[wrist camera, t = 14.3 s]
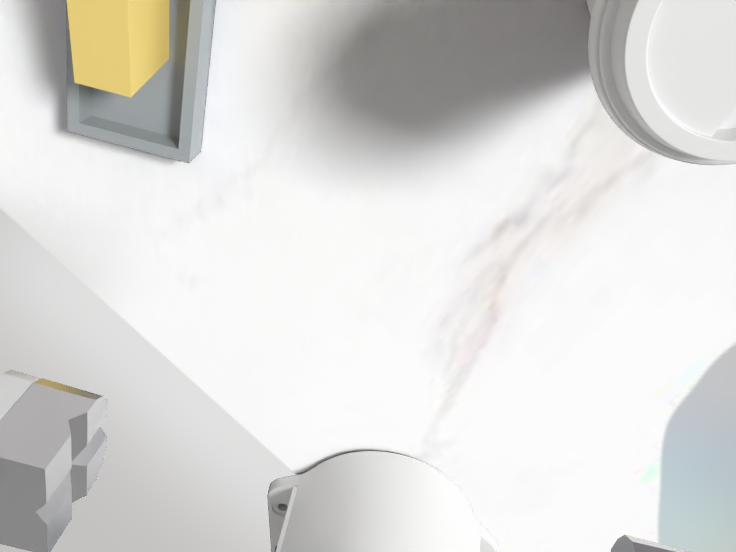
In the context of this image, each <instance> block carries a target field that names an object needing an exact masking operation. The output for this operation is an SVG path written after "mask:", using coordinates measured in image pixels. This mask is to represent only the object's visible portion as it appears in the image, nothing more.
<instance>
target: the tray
mask: <svg viewBox="0 0 736 552" xmlns="http://www.w3.org/2000/svg"><path fill="white" fill-rule="evenodd" d="M215 4H216V0H169V60H168V61H167V62H166V63H165V64H164V65H163V66H162V67H161V68H160V69H159V70H158V71H157V72H156V73H155V74H154V75H153V76H152V77H151V78H150V79H149V80H148V81H147V82H146V83H145V84H144V85H143V86H142V87H141V88H140V89H139V90H138V91H137V92H136V93H135V94H134V95H133V96H132V97H127V96H123V95H119V94H116V93H112V92H108V91H104V90H100V89H97V88H93V87H89V86H85V85H82V84H78V83H75V82H74V72H73V62H72V51H71V41H70V30H69V20H68V9H67V131H68V132H72V133H76V134H80V135H84V136H87V137H91V138H95V139H99V140H103V141H106V142H110V143H114V144H118V145H121V146H125V147H129V148H133V149H137V150H140V151H144V152H148V153H152V154H156V155H159V156H163V157H167V158H171V159H175V160H178V161H182V162H186V163H190V162H191V161H192V160H193V159H194V158H195V157H196V156H197V155H198V154H199V153H200V152H201V145H202V135H203V125H204V115H205V105H206V95H207V85H208V74H209V64H210V54H211V44H212V34H213V24H214V14H215ZM66 8H67V0H66Z"/></svg>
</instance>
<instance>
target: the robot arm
mask: <svg viewBox="0 0 736 552" xmlns="http://www.w3.org/2000/svg"><path fill="white" fill-rule="evenodd" d="M106 417H107V399H106V398H105V397H103V396H100V395H97V394H94V393H90V392H87V391H83V390H80V389H77V388H73V387H70V386H67V385H63V384H60V383H57V382H53V381H50V380H46V379H43V378H42V379H41V378H37V377H34V376H31V375H27V374H24V373H20V372H17V371H14V370H9V371H7V372H5V373H3V374H1V375H0V544H3V545H7V546H11V547H15V548H20V549H24V550H28V551H33V552H50V551H51V550H52V548H53V547H54V545H55V544H56V542H57V540H58V539H59V537H60V536H61V534H62V533H63V531H64V530H65V528H66V526H67V525H68V523H69V522H70V520H71V512H72V511H71V510H72V502H74V501H76V500H78V499H80V498H82V497H84V496H86V495H87V493H88V492H89V490H90V488H91V487H92V485H93V484H94V482H95V480H96V478H97V475H98V473H99V471H100V468H101V466H102V463H103V460H104V455H105V451H106V442H107V436H106V434H105V433H104V432H103V430H102V429H101V427H100V425H101V424H102V422H103V421H104V419H105V418H106ZM268 510H269V523H270V538H271V552H497V548H498V541H497V539H496V538H495V536H494V535H493V534H492V533H491V532H490V531H489V530H488V529H486V528H485V527H484V526H483V525H482V524H481V523H479V522H478V520H477V519H476V517H475V515H474V513H473V511H472V509H471V506H470V504H469V502H468V500H467V498H466V496H465V495H464V493H463V492H462V491H461V489H460V488H459V487H458V486H457V485H456V484H455V483H454V482H453V481H452V480H451V479H450V478H448V477H447V476H446V475H445V474H443V473H442V472H440V471H439V470H437V469H436V468H434V467H432V466H430V465H428V464H426V463H424V462H422V461H419V460H417V459H414V458H411V457H408V456H404V455H400V454H395V453H389V452H380V451H362V452H353V453H347V454H343V455H339V456H336V457H333V458H331V459H328V460H326V461H324V462H322V463H321V464H319V465H317V466H316V467H314V468H313V469H311V470H309V471H308V472H306V473H303V474H300V475H294V476H288V477H283V478H279V479H276V480H274V481H273V482H272V483H271V484H270V487H269V491H268ZM611 552H687V551H686V550H682V549H678V548H674V547H671V546H667V545H663V544H659V543H655V542H651V541H647V540H643V539H639V538H636V537H632V536H628V535H624V536H622V537H620V538H619V539H617V541H616V543H615V544H614V546H613V547H612V549H611Z"/></svg>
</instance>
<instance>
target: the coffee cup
mask: <svg viewBox="0 0 736 552" xmlns="http://www.w3.org/2000/svg"><path fill="white" fill-rule="evenodd" d="M586 1H587V6H588V10H589V13H590V17H591V20H590V26H589V35H588V58H589V66H590V72H591V76H592V80H593V84H594V87H595V90H596V92H597V95H598V97H599V99H600V101H601V103H602V105H603V107H604V109H605V110H606V112H607V113H608V115H609V116H610V118H611V119H612V120H613V121H614V123H615V124H616V125H617V126H618V127H619V128H620V129H621V130H622V131H623V132H624V133H625V134H626V135H627V136H629V137H630V138H631V139H632V140H634V141H635V142H637V143H638V144H640V145H641V146H643V147H645V148H646V149H648V150H650V151H652V152H655V153H657V154H659V155H662V156H665V157H668V158H671V159H674V160H678V161H682V162H686V163H692V164H700V165H729V164H736V0H586Z"/></svg>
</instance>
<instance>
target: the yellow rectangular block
mask: <svg viewBox="0 0 736 552" xmlns="http://www.w3.org/2000/svg"><path fill="white" fill-rule="evenodd" d="M67 9H68V20H69V30H70V41H71V51H72V62H73V72H74V82H75V83H78V84H82V85H85V86H89V87H93V88H97V89H100V90H104V91H108V92H112V93H116V94H119V95H123V96H127V97H132V96H133V95H134V94H135V93H136V92H137V91H138V90H139V89H140V88H141V87H142V86H143V85H144V84H145V83H146V82H147V81H148V80H149V79H150V78H151V77H152V76H153V75H154V74H155V73H156V72H157V71H158V70H159V69H160V68H161V67H162V66H163V65H164V64H165V63H166V62H167V61H168V60H169V0H67Z"/></svg>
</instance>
